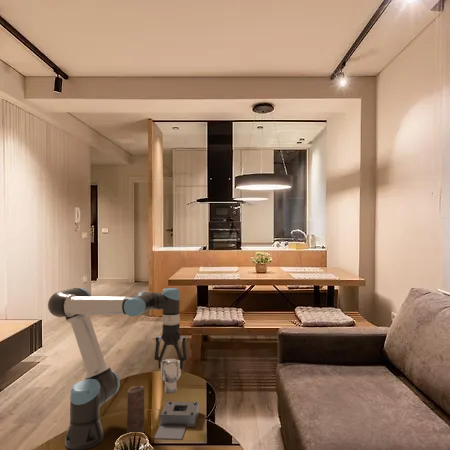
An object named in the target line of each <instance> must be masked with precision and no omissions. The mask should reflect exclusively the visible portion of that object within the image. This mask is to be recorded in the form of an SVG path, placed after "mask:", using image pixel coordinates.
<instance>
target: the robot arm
mask: <svg viewBox="0 0 450 450" xmlns="http://www.w3.org/2000/svg"><path fill="white" fill-rule="evenodd" d="M180 296H181V295H180V289H178V288H175V287H174V288H173V287H171V288H167V287H166V288H163V289H162V292H148V291H143V292H138V294H137V295H136V296H92V295H91V293H90V291H89V290H88V289H85V288H82V287H74V288H70V289H66V290H65V289H64V290H60V291H57V292H55V293H53V294H52V295H51V296H50V297H49V300H48V303H47V308H48V311H49V313H50V314H51V315H52V316H54V317H57V318H65V320H66V322H68V323H70V325H71V328H72V331H73V333H74V337H75V339H76V343H77V347H78V348H79V352H80V355H81V358H82V362H83V365H84V367H85V370H86V374H85V375H84V380H79V381H78V382H76V383H75V384H74V385H73V386H72V387H71V389H70V396H69V401H70V402H69V406H70V407H69V408H70V409H69V426H68V428H67V431H66V435H65V438H64V446H65V447H66V448H67V449H68V450H88V449H91V448H94V447H96V446H97V445H99V444H100V443H101V442H103V440H104V430H103V426H102V423H101V419H100V407H101V406H103V405H104V404H105V403H106V402H108V401H109V400H111V399H112V398H113V397H114V396H115V395H116V394H117V393H118V392H119V389H120V383H121V381H120V377H119V374H118V373H116V372H115V371H114V370H112V368H111V366H110V365H107V364H106V362H105V358H104V356H103V352H102V349H101V347H100V343H99V340H98V337H97V334H96V332H95V328H94V325H93V323H92V320H91V315H124V316H125V315H127V316H129V317H132V318H133V317H138V316H140V315H142V314H145V313H147V312H149V311H151V310H162V334H161V335H157V336H156V337H155V338H154V339H155V340H154V341H155V350H154V361H157V362H158V369H160V378H163V361H164V360H165V359H163V358H164V355H165V352H166V349H167V348H168V346H174V348H175V351H176V355H177V357H178V360H179V361H178V377H179V378H180V377H181V376H182V373H181V372H182V370H183V368H184V362H185V361H187V360H188V353H187V343H186V342H187V336H181V334H180V332H181V331H180V330H181V329H180V327H181V325H180V321H181V320H180V317H181V316H180V310H181V308H180V307H181V306H180V304H181V303H180V302H181V298H180ZM162 341H163V342H164V344H163V346H162V349H161V352H160V346H161V342H162ZM179 341H180V342H181V345H182V346H181V348H182V351H181V349H180V345H179Z"/></svg>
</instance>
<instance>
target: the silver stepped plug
mask: <svg viewBox="0 0 450 450" xmlns="http://www.w3.org/2000/svg"><path fill="white" fill-rule="evenodd" d="M163 360H164V361H163V377H162V381H163V382H164V392H165V393H166V394H174V393H176V392H177V381H178V380H179V379H180V377H178V361H179V359H177V358H166V359H163Z"/></svg>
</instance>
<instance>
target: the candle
mask: <svg viewBox="0 0 450 450" xmlns="http://www.w3.org/2000/svg"><path fill="white" fill-rule="evenodd" d="M126 404H127V406H126V413H127V414H126V434H127V433H129V432H143V434H144V433H145V387H144V386H143V385H137V386H136V385H133V386H131V387H129V389H127V400H126Z"/></svg>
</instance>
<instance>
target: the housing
mask: <svg viewBox="0 0 450 450" xmlns="http://www.w3.org/2000/svg"><path fill="white" fill-rule="evenodd" d="M199 414H200V401H169V400H168V401H166V403H165V404H164V406H163V409H162V410H161V411H160V415H159V418H160V419H159V424H160V425H159V426H173V427H186V428H187V427H189V428H192V427H193V428H195V427H196V424H197V421H198V417H199Z"/></svg>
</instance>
